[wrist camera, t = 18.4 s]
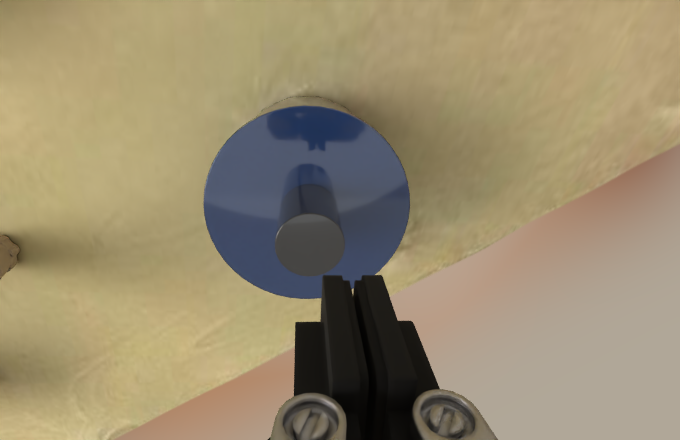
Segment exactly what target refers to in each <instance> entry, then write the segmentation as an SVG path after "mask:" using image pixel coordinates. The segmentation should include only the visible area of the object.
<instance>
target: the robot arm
mask: <svg viewBox="0 0 680 440" xmlns="http://www.w3.org/2000/svg"><path fill="white" fill-rule="evenodd" d="M294 374H295V375H294V397H293V398H291V399H289V400H288V401H286V402H285V403H284V404H283V405H282V407H281V408H280V409H279V411H278V413H277V415H276V418H275V422H274V426H273V430H272V434H271V437H270V438H269V439H268V440H498V439H497V438H496V436H495V435H494V433H493V432H492V430H491V429H490V427H489V426H488V424H487V423H486V421H485V420H484V418H483V417H482V415H481V414H480V412H479V410H478V409H477V408H476V407H475V406H474V405H473V404H472V402H470V401H469V400H467V399H466V398H465V397H463V396H462V395H459V394H457V393H455V392H453V391H448V390H443V389H440V388H439V386H438V383H437V381H436V378H435V376H434V373H433V371H432V369H431V366H430V363H429V361H428V358H427V356H426V354H425V351H424V348H423V346H422V343H421V341H420V338H419V336H418V333H417V331H416V329H415V326H414V324H413V322H412V321H398V320H397V318H396V315H395V312H394V309H393V306H392V303H391V300H390V297H389V294H388V291H387V288H386V286H385V283H384V280H383V277H382V275H362V278H361V280H355V282H354V293H353V295H352V290H351V285H350V281H349V280H343V277H342V275H323V277H322V299H321V322H296V325H295V372H294Z"/></svg>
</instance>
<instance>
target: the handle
mask: <svg viewBox="0 0 680 440" xmlns="http://www.w3.org/2000/svg"><path fill="white" fill-rule="evenodd" d="M19 251H20V249H19V247H18V245H15V244H14V243H12V242H11V241H10V239H9V237H6V236H4V235H1V236H0V279H1V278H2V277H3V276H4V275H5V273H6V272H8V271H10V270H11V269H12V268H13V267H14V266H15V265H16V263H17V254H18V252H19Z"/></svg>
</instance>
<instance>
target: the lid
mask: <svg viewBox="0 0 680 440" xmlns="http://www.w3.org/2000/svg"><path fill="white" fill-rule="evenodd" d="M409 210H410V193H409V187H408V181H407V178H406V174H405V171H404V168H403V166H402V164H401V162H400V160H399V158H398V156H397V155H396V153H395V151H394V150H393V148H392V147H391V146H390V144H389V143H388V142H387V141H386V140H385V139H384V137H383V136H382V135H381V134H380V133H378V132H377V131H376V130H375V129H374V128H373V127H372V126H370V125H369V124H367V123H366V122H364V121H363V120H361V119H360V118H358V117H356V116H354V115H352V114H350V113H348V112H345V111H342V110H339V109H336V108H332V107H327V106H321V105H306V104H304V105H292V106H287V107H282V108H278V109H274V110H272V111H269V112H266V113H264V114H261V115H260V116H258V117H256V118H254V119H252V120H250V121H249V122H248V123H246V124H245V125H243V126H242V127H241V128H239V129H238V130H237V131H236V132H235V133H234V134H233V135H232V136H231V137H230V138H229V139H228V140H227V141H226V143H225V144H224V145H223V147H222V148H221V149H220V151H219V152H218V154H217V156H216V157H215V159H214V161H213V163H212V165H211V168H210V170H209V173H208V176H207V180H206V184H205V189H204V215H205V220H206V224H207V228H208V231H209V234H210V237H211V239H212V241H213V243H214V245H215V247H216V249H217V251H218V252H219V253H220V255H221V256H222V258H223V259H224V260H225V262H226V263H227V264H228V265H229V266H230V267H231V268H232V269H233V270H234V271H235V272H236V273H237V274H239V275H240V276H241V277H242V278H243V279H245V280H247V281H248V282H250V283H251V284H253V285H255V286H257V287H259V288H261V289H263V290H265V291H268V292H270V293H273V294H276V295H280V296H285V297H290V298H299V299H314V298H322V277H323V275H342V277H343V280H349V281H350V285H351V289H353V288H354V282H355V280H361V278H362V275H375V274H376V273H377V272H379V271H380V270H381V269H382V268H383V266H384V265H385V264H386V263H387V262H388V261H389V260H390V258H391V257H392V256H393V254H394V253H395V251H396V249H397V248H398V246H399V244H400V242H401V240H402V238H403V235H404V233H405V230H406V226H407V222H408V218H409Z"/></svg>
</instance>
